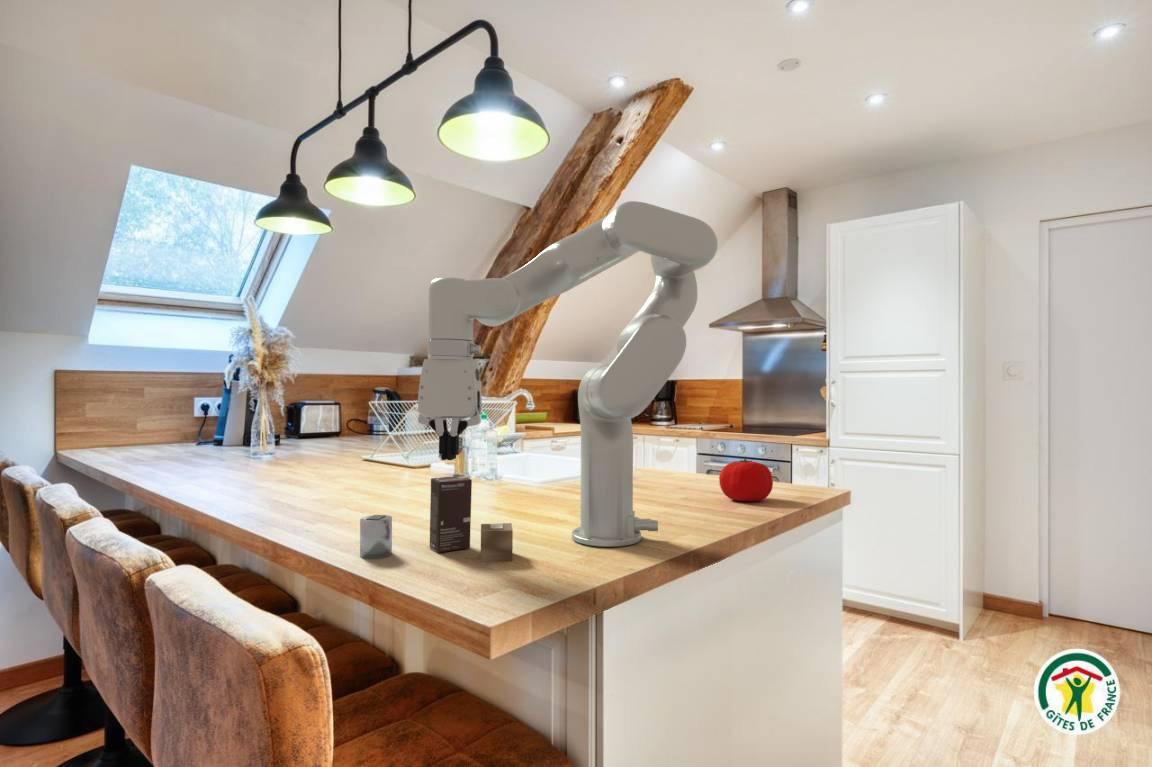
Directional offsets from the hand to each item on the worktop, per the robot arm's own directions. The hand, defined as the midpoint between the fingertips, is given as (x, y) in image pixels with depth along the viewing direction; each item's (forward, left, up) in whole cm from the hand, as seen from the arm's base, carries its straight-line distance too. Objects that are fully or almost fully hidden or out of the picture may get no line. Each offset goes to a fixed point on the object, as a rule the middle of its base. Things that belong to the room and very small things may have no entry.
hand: (448, 458), depth 105 cm
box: (0, 0, -16) cm, 16 cm away
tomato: (-57, -51, -16) cm, 78 cm away
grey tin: (+11, +5, -15) cm, 19 cm away
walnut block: (-9, +4, -15) cm, 18 cm away
